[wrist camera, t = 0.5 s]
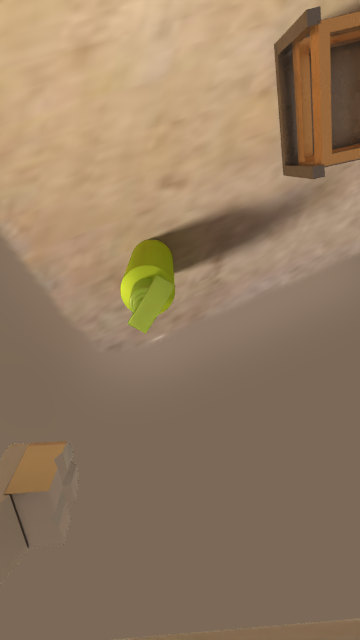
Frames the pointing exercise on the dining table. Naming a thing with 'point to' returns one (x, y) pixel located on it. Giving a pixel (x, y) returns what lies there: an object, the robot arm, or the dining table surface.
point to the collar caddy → (319, 93)
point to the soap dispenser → (148, 283)
